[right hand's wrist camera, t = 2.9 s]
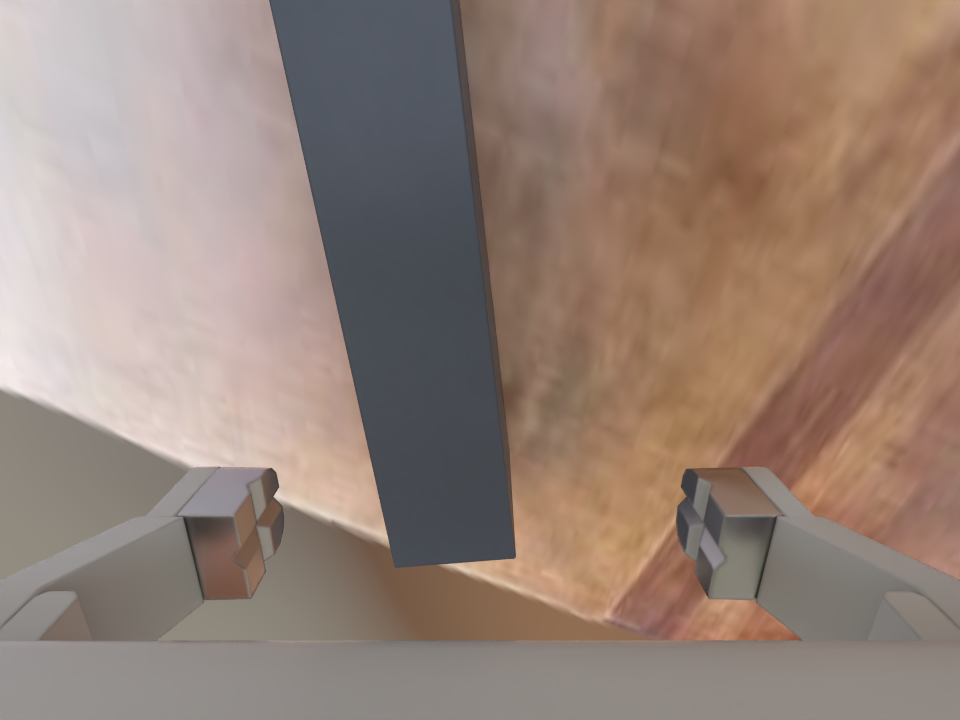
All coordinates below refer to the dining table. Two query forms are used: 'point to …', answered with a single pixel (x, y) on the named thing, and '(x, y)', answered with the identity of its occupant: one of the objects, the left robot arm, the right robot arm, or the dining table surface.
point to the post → (407, 262)
